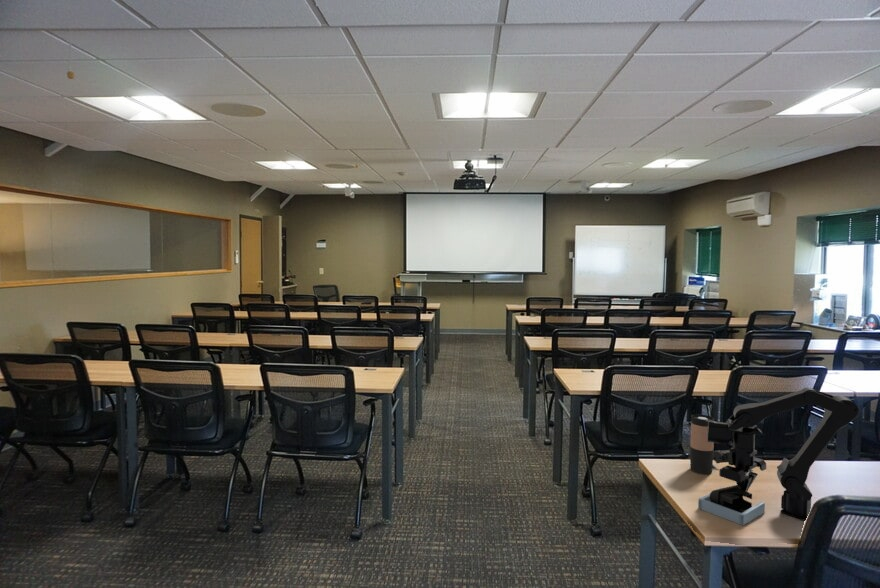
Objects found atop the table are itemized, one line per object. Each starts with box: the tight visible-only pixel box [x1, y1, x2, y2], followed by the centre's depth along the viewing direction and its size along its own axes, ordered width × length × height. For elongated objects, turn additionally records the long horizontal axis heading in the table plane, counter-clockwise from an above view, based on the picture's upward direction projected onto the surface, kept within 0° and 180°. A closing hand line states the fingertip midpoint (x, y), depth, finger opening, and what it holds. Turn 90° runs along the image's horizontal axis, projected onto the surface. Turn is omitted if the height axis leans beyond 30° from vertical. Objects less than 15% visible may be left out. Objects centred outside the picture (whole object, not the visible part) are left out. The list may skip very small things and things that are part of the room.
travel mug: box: [689, 413, 715, 475], centre depth 185 cm, size 8×8×20 cm
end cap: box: [710, 484, 753, 513], centre depth 154 cm, size 10×7×7 cm
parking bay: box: [697, 487, 766, 526], centre depth 154 cm, size 13×14×3 cm
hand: (742, 495), depth 158 cm, fingers closed
